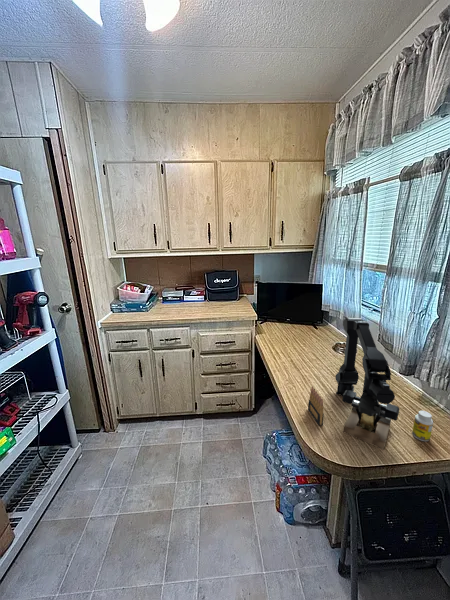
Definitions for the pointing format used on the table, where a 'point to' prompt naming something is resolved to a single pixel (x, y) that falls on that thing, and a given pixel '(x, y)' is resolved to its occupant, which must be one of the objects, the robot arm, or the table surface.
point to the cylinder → (367, 422)
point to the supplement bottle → (422, 426)
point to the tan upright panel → (316, 406)
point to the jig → (367, 436)
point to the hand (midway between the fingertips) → (367, 422)
